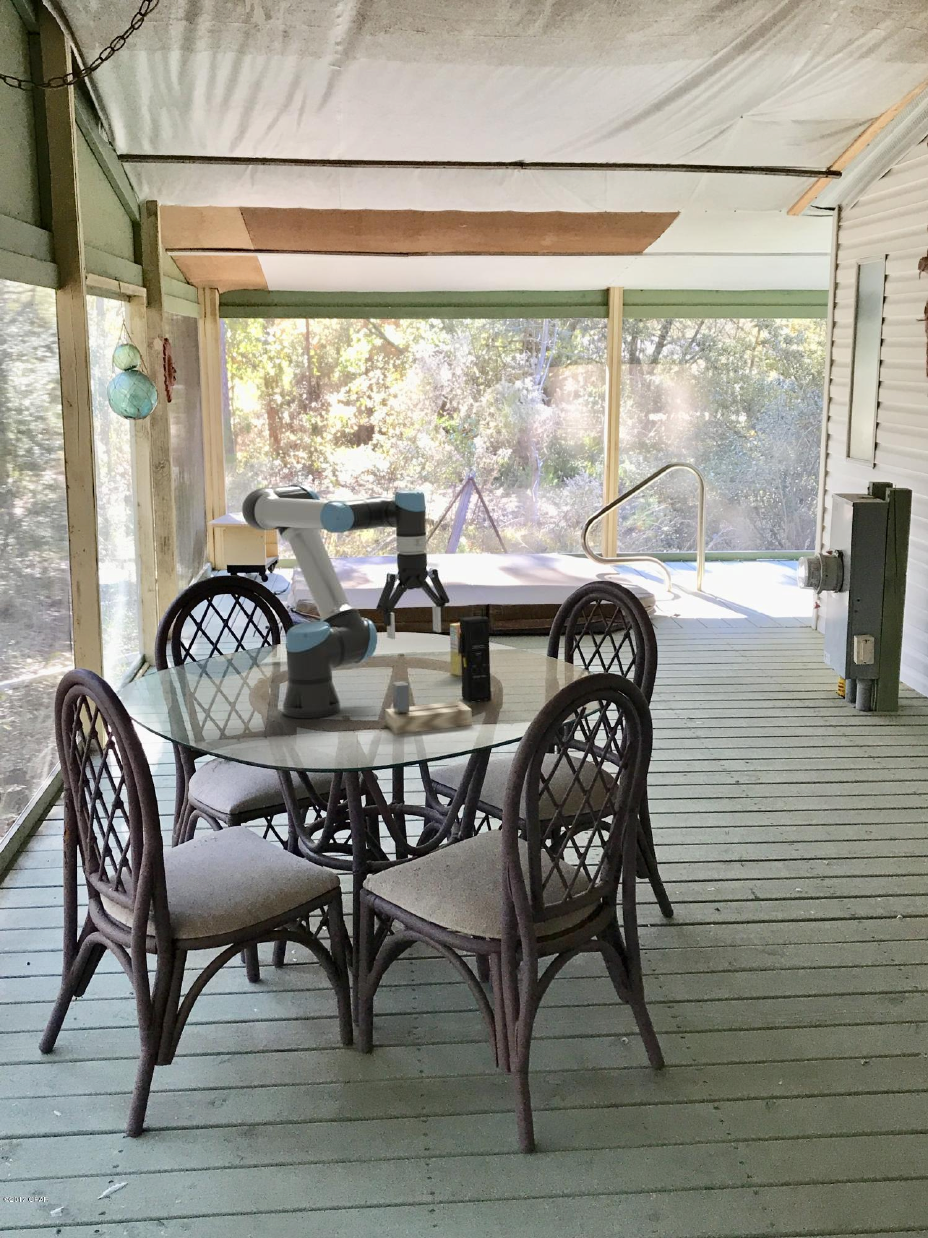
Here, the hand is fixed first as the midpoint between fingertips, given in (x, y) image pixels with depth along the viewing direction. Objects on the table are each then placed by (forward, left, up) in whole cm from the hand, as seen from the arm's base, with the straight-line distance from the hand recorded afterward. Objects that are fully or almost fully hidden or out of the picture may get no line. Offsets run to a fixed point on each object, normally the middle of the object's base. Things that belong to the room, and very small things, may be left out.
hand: (414, 634), depth 294 cm
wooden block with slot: (+1, -8, -22) cm, 23 cm away
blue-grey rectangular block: (-6, -8, -18) cm, 20 cm away
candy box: (+28, +42, -22) cm, 55 cm away
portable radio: (+20, +11, -22) cm, 32 cm away
